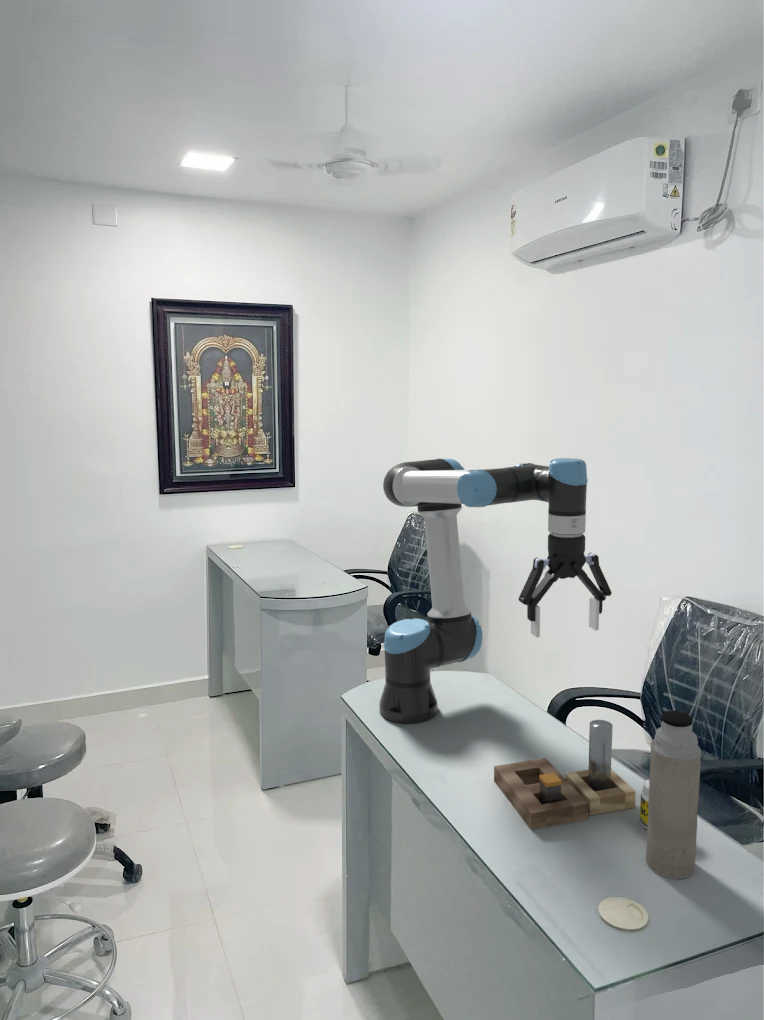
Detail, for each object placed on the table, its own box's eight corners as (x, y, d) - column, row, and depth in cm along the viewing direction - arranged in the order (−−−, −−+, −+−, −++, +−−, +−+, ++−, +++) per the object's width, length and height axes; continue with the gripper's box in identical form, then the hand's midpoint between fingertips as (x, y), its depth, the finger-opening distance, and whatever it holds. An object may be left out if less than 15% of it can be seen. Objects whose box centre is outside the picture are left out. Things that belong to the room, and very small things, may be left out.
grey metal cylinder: (583, 793, 152) (585, 721, 149) (602, 790, 153) (605, 718, 150) (594, 805, 148) (596, 731, 145) (614, 802, 149) (616, 728, 146)
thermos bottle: (689, 852, 132) (697, 707, 127) (699, 881, 125) (707, 728, 120) (643, 847, 134) (649, 704, 129) (649, 876, 126) (656, 724, 121)
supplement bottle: (634, 821, 142) (635, 781, 141) (653, 815, 144) (654, 775, 142) (652, 834, 138) (654, 793, 136) (671, 828, 140) (673, 787, 138)
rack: (565, 788, 154) (565, 773, 153) (607, 781, 156) (608, 766, 155) (589, 815, 144) (590, 799, 144) (634, 807, 147) (635, 791, 146)
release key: (538, 806, 146) (539, 775, 145) (553, 803, 147) (554, 772, 146) (546, 815, 143) (546, 783, 142) (561, 812, 144) (561, 780, 143)
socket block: (494, 781, 157) (494, 766, 157) (545, 772, 160) (545, 757, 160) (530, 829, 140) (531, 813, 140) (587, 819, 143) (588, 802, 142)
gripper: (518, 542, 145) (517, 644, 149) (630, 532, 151) (627, 631, 155) (503, 534, 152) (502, 632, 156) (610, 525, 158) (607, 620, 162)
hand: (564, 631), depth 156 cm, fingers open, 13 cm apart
